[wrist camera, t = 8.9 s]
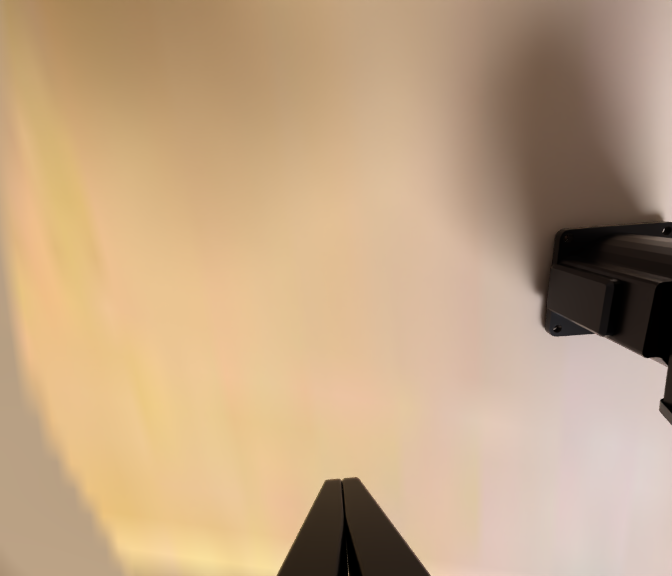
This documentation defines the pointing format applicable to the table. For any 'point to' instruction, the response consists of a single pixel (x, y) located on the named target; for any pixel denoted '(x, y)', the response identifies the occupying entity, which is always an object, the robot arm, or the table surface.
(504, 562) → the table surface
